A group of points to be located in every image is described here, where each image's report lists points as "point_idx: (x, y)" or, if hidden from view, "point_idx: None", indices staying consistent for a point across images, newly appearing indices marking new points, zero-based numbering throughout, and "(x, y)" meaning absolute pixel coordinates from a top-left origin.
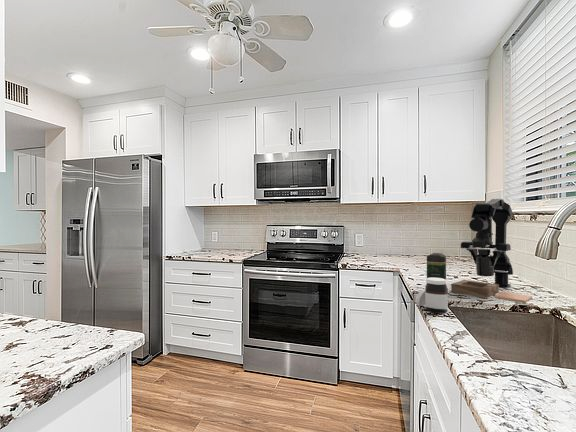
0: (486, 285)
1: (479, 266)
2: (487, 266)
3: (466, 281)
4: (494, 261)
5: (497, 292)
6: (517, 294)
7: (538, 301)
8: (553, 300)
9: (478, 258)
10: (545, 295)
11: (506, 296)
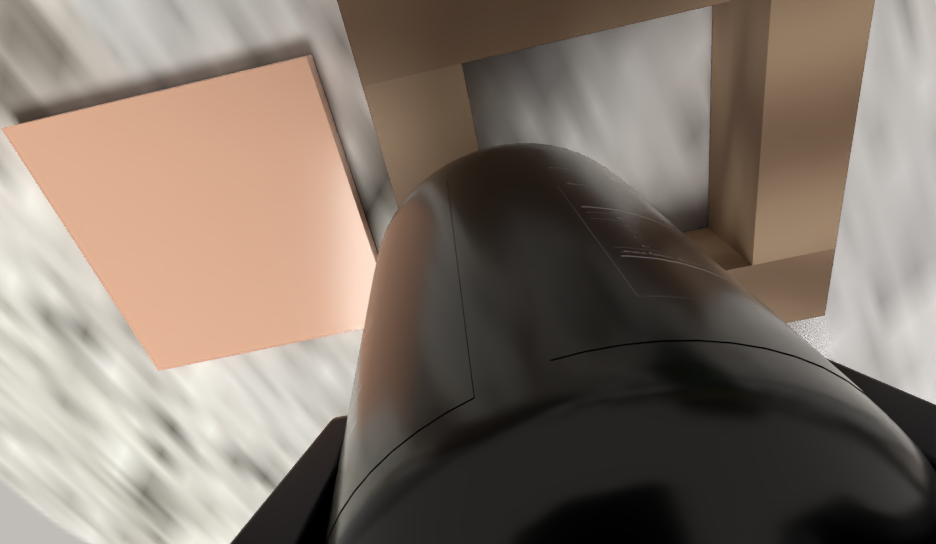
0: None
1: (596, 205)
2: (401, 279)
3: (767, 247)
4: (263, 515)
5: None
6: (255, 328)
7: (46, 287)
8: (53, 413)
9: (755, 353)
10: (206, 502)
11: (226, 150)
